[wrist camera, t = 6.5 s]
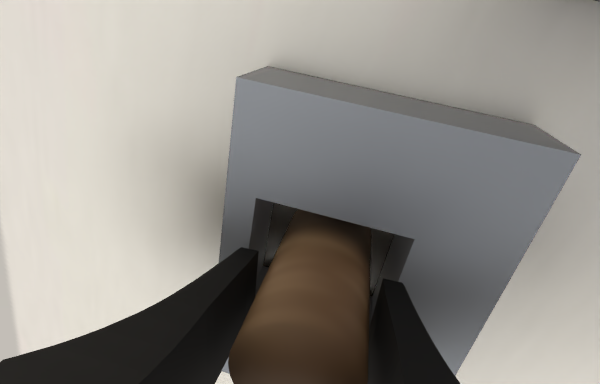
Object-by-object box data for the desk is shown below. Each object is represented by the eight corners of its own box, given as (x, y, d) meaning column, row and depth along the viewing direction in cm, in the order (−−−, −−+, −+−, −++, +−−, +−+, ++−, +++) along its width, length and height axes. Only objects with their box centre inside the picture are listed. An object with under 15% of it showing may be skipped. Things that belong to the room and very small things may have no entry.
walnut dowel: (388, 236, 14) (399, 391, 8) (330, 281, 16) (301, 443, 9) (327, 180, 14) (288, 296, 8) (273, 231, 15) (202, 366, 9)
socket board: (534, 125, 11) (580, 154, 9) (415, 369, 17) (421, 434, 14) (267, 66, 12) (236, 77, 10) (234, 316, 18) (208, 367, 15)
